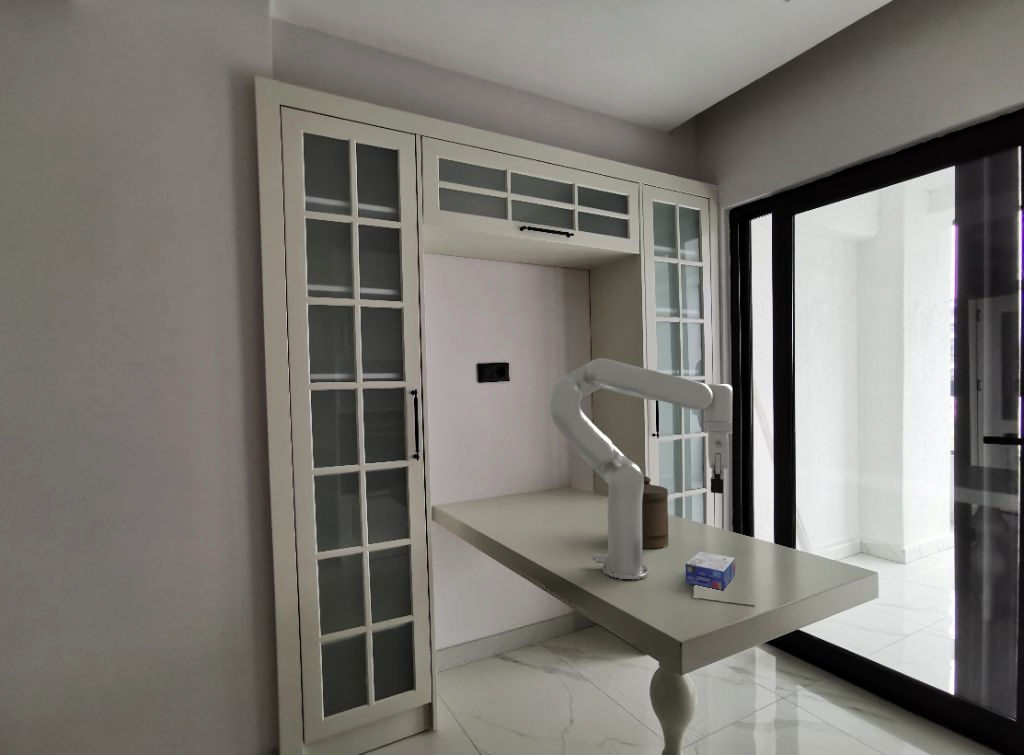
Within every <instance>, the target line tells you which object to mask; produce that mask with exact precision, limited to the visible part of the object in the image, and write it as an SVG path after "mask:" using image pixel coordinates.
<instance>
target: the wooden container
mask: <svg viewBox="0 0 1024 755" xmlns="http://www.w3.org/2000/svg"><path fill="white" fill-rule="evenodd" d="M643 478H644V489H643V498H642V548H659V549H661V548H660V547H664V546H666V545H668V546H669V511H668V510H669V509H668V508H669V507H668V505H669V504H668V499H669V498H668V497H669V492H668V488H666V487H664V486H661V485H655V484H651V483H650V482H651V481H652V479H651V478H650V477H649V476H644V475H643ZM666 547H667V546H666ZM664 548H665V547H664Z"/></svg>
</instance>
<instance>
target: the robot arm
mask: <svg viewBox="0 0 1024 755" xmlns="http://www.w3.org/2000/svg"><path fill="white" fill-rule="evenodd" d="M599 389H603V390H607V391H611V392H615V393H619V394H622V395H627V396H631V397H634V398H637V399H642V400H643V399H644V400H647V401H657V402H663V403H668V404H673V405H676V406H678V407H680V408H682V409H687V410H693V411H694V410H695V411H702V410H703V433H707V457H708V464H709V465H708V466H709V468H710V469H711V477H710V492H711V493H712V494H723V493H724V478H723V477H724V475H723V471H724V469H725V470H726V471H727V470H729V468H730V466H729V457H730V456H729V454H730V453H729V448H730V447H729V435H731V434H733V394H734V393H733V387H732V386H731V385H730V384H725V383H724V384H723V383H710V384H706V383H703V382H700V381H696V380H692V379H687V378H684V377H680V376H677V375H676V376H675V375H671V374H669V373H663V372H660V371H656V370H653V369H648V368H644V367H640V366H636V365H633V364H628V363H624V362H622V361H617V360H613V359H610V358H605V357H604V358H603V357H601V358H600V357H598V358H596V359H593V360H591V361H589V362H587V363H585V364H584V365H582V366H581V367H579V368H577V369H574V370H573V371H571V372H569V373H567V374H565V375H564V376H562V377H560V378H558V379H556V380H555V381H553V383H552V385H551V387H550V396H551V398H550V401H549V402H550V403H549V408H550V410H549V411H550V415H551V419H552V421H553V424H554V425H555V428H557V430H558V431H559V432H560V433H561V435H562V436H563V437H564V438H565V439H566V440H567V441H568V442H569V443H570V445H571V446H573V448H574V449H576V451H577V452H578V454H579V456H580V457H581V458H582V459H583V460H584V461H585V462H586V463H587V464H588V465H589V467H591V468H592V469H593V470H594V472H596V473H597V474H598V475H599V477H601V478H602V479H603V481H605V483H607V484H608V494H607V552H606V553H604V554H600V553H593V554H592V561H595V563H596V564H602V570H601V571H602V573H603V574H604V575H606V574H607V575H606V576H608V575H609V576H608V577H610V576H611V577H610V578H612V577H615V578H614V579H616V578H619V579H618V580H622V579H638V580H641V579H640V578H642V579H644V578H643V577H645V576H646V577H648V575H649V569H648V567H647V566H645V565H644V564H643V549H642V498H643V489H644V478H643V477H644V474H643V472H642V470H641V468H640V467H639V465H638V464H636V463H635V462H634V461H632V460H631V459H629V458H628V457H627V456H625V455H624V453H623V452H621V450H619V449H618V448H617V446H615V444H613V442H612V440H611V439H610V437H609V436H607V434H605V433H603V432H602V431H601V429H599V428H598V427H597V426H596V425H595V424H594V423H593V422H592V421H591V420H590V418H588V416H587V415H585V413H584V412H583V410H582V408H581V400H582V399H583V398H585V397H586V396H589V395H590V394H592V393H594V392H596V391H598V390H599ZM646 577H645V578H646Z"/></svg>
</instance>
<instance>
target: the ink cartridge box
mask: <svg viewBox="0 0 1024 755" xmlns="http://www.w3.org/2000/svg"><path fill="white" fill-rule="evenodd" d="M735 577H736V557H730V556H725V555H721V554H720V555H719V554H715V553H710V552H709V553H708V552H704V551H699V552H697V553H696V554H695V555H694V556H692V558H691V559H690V560H688V561H687V562H686V563H685V583H686V584H690V585H693V584H694V585H698V586H703V587H707V588H712V589H716V590H721V591H724V589H725V588H726V587H727V585H728V584H729V583H730V582H731V580H732V579H733V578H735Z"/></svg>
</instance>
